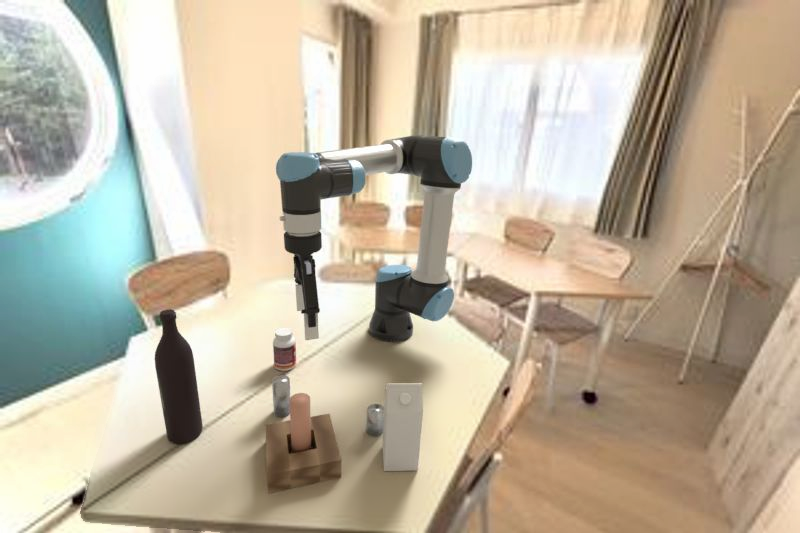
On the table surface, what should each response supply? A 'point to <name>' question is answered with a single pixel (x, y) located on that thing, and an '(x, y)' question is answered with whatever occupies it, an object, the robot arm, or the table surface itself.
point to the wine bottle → (177, 383)
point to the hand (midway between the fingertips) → (307, 323)
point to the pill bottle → (284, 349)
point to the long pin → (300, 422)
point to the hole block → (301, 455)
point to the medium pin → (281, 395)
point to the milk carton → (402, 426)
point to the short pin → (375, 420)
